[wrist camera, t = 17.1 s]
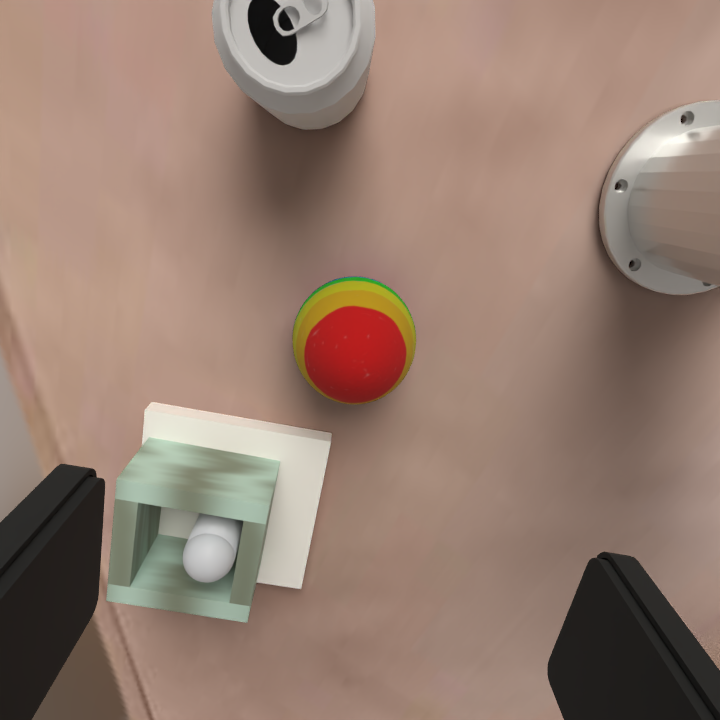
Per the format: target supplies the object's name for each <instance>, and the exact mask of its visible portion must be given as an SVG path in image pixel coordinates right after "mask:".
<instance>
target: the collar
mask: <svg viewBox="0 0 720 720" xmlns="http://www.w3.org/2000/svg"><path fill="white" fill-rule="evenodd" d="M279 465H280V461H278V460H273V459H267V458H262V457H256V456H251V455H245V454H240V453H234V452H229V451H223V450H217V449H212V448H206V447H201V446H195V445H190V444H184V443H179V442H173V441H168V440H162V439H157V438H151V437H149V438H148V439H147V440H146V442H145V443H144V444H143V446H142V447H141V448H140V449H139V451H138V452H137V453H136V455H135V456H134V457H133V459H132V460H131V461H130V462H129V464H128V465H127V466H126V468H125V469H124V470H123V471H122V473H121V474H120V475H119V477H118V478H117V481H116V493H115V505H114V516H113V528H112V540H111V552H110V563H109V575H108V587H107V598H106V601H111V602H117V603H123V604H130V605H136V606H143V607H149V608H156V609H162V610H168V611H175V612H181V613H188V614H194V615H201V616H207V617H213V618H220V619H226V620H233V621H239V622H246V623H247V621H248V617H249V613H250V608H251V604H252V600H253V596H254V591H255V587H256V583H257V578H258V574H259V570H260V565H261V560H262V554H263V549H264V544H265V539H266V534H267V528H268V523H269V518H270V513H271V507H272V502H273V497H274V492H275V486H276V481H277V476H278V471H279ZM161 507H167V508H173V509H179V510H184V511H190V512H196V513H202V514H208V515H214V516H219V517H225V518H231V519H237V520H243V527H242V533H241V539H240V544H239V547H238V551H237V554H236V557H235V561H234V563H233V566H232V568H231V569H230V571H229V572H228V573H227V574H226V575H225V576H224V577H222V578H221V579H219V580H217V581H214V582H209V583H204V582H199V581H197V580H195V579H193V578H192V577H190V576H189V574H188V573H187V572H186V570H185V568H184V565H183V551H184V548H185V545H186V543H187V541H188V539H186V538H180V537H174V536H168V535H162V534H158V531H159V523H160V514H161Z"/></svg>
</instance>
